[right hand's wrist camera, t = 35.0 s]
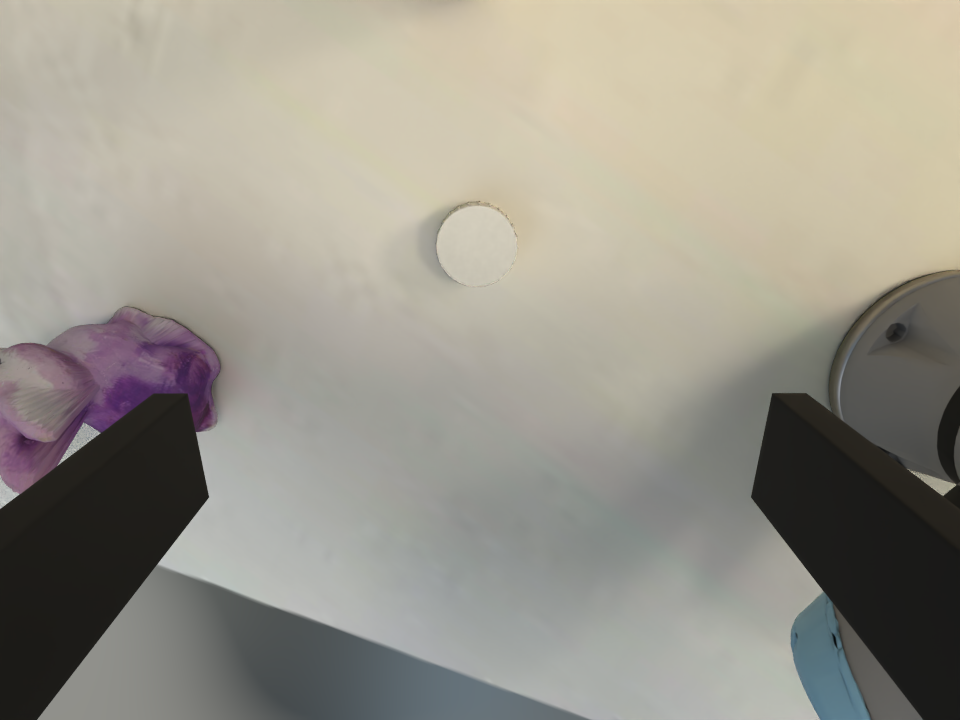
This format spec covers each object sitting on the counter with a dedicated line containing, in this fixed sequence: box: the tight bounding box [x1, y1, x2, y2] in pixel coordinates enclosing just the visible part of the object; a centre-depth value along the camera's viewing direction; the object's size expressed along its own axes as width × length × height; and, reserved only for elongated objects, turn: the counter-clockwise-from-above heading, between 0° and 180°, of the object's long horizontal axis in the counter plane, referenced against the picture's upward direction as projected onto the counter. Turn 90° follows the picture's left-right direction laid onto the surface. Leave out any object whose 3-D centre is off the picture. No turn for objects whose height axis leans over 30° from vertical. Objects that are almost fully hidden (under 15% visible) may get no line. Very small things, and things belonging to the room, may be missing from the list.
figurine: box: [0, 307, 220, 494], centre depth 35 cm, size 9×10×15 cm
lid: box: [436, 201, 518, 287], centre depth 38 cm, size 6×6×2 cm
